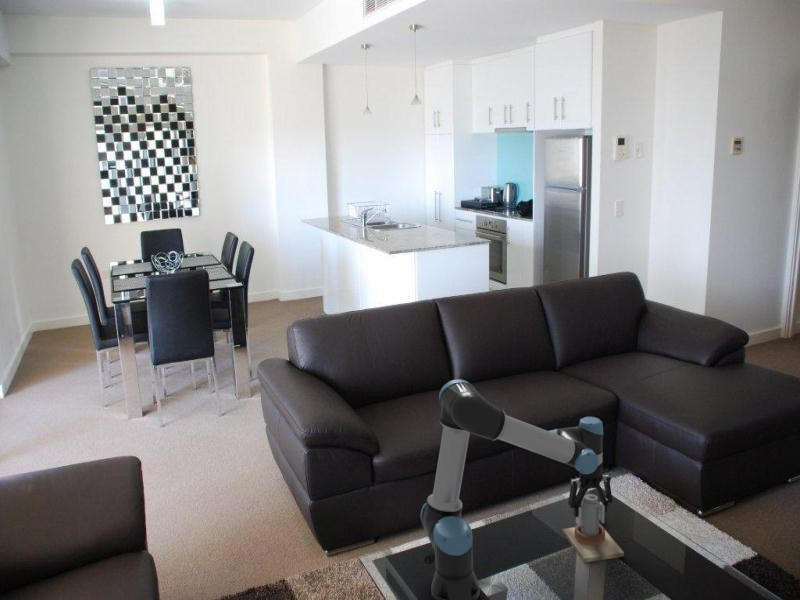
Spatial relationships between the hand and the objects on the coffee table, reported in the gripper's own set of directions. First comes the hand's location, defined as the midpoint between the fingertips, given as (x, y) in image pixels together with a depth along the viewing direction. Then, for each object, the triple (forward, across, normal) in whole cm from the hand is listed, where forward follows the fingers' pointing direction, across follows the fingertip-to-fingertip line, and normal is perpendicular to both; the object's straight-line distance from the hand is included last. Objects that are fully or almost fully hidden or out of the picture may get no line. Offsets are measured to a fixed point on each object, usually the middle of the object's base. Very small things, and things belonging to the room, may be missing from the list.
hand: (590, 522), depth 237 cm
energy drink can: (+6, 0, 0) cm, 6 cm away
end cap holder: (+7, 0, -2) cm, 7 cm away
